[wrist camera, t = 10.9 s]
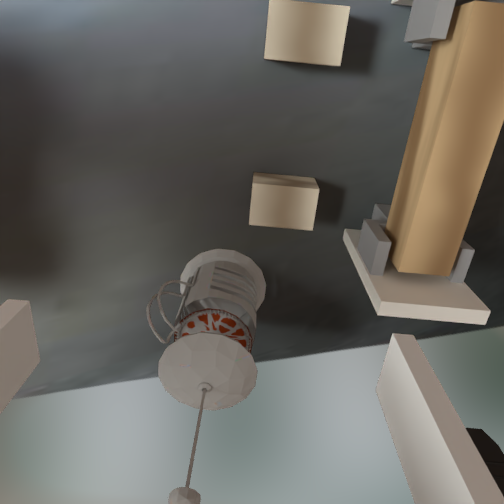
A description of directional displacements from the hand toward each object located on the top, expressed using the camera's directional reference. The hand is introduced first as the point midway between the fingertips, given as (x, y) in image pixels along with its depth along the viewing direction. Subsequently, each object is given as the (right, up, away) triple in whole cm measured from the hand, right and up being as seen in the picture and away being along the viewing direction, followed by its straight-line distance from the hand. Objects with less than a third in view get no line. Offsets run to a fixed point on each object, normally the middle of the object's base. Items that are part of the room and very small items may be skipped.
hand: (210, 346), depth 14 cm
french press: (-2, 0, +30) cm, 30 cm away
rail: (+16, +12, +17) cm, 26 cm away
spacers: (+5, +16, +22) cm, 27 cm away
